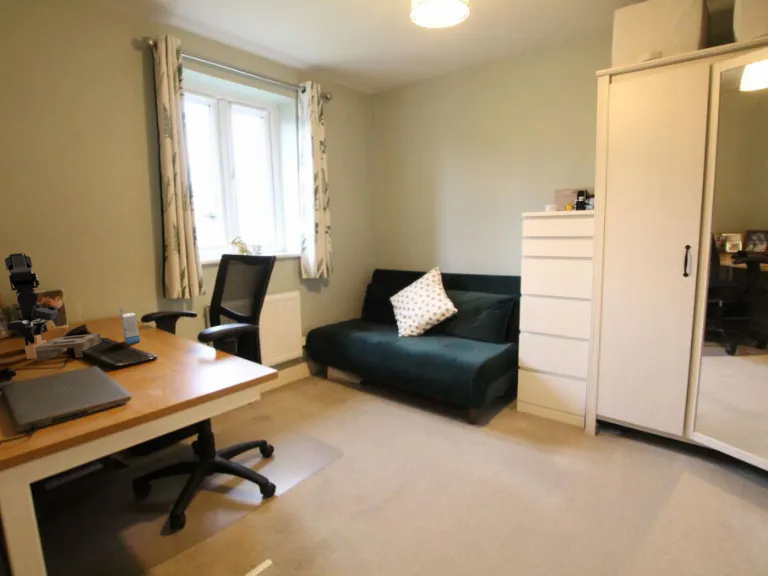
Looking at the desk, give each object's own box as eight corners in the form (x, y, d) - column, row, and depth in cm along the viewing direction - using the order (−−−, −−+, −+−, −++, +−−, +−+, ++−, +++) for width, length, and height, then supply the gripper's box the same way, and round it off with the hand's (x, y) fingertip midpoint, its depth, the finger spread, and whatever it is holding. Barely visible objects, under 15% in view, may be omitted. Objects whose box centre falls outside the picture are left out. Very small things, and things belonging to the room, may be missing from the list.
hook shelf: (59, 350, 170) (57, 337, 170) (102, 346, 173) (100, 333, 172) (37, 361, 157) (34, 347, 156) (84, 356, 159) (81, 342, 158)
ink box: (141, 341, 177) (135, 307, 174) (127, 344, 174) (121, 309, 171) (137, 338, 183) (132, 305, 181) (124, 340, 180) (118, 307, 178)
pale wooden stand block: (40, 352, 168) (36, 333, 167) (48, 352, 169) (44, 332, 168) (27, 359, 161) (23, 339, 159) (35, 358, 161) (31, 338, 160)
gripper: (35, 305, 154) (43, 346, 156) (64, 297, 172) (71, 333, 174) (1, 308, 152) (9, 349, 154) (34, 299, 170) (41, 336, 173)
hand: (35, 342), depth 164 cm, fingers open, 3 cm apart
